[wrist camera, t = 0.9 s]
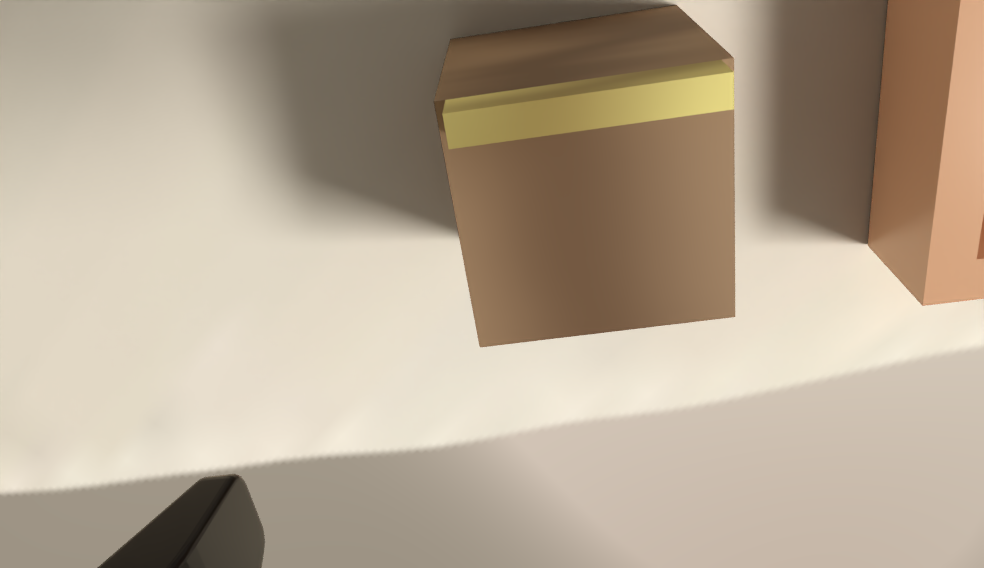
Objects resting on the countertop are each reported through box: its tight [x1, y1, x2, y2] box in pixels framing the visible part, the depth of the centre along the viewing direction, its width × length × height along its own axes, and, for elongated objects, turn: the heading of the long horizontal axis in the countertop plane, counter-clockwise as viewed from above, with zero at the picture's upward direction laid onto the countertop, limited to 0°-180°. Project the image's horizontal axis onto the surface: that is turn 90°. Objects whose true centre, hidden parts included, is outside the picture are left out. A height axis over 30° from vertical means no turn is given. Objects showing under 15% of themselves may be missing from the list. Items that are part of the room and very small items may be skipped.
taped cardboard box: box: [434, 5, 735, 347], centre depth 16 cm, size 5×5×6 cm
